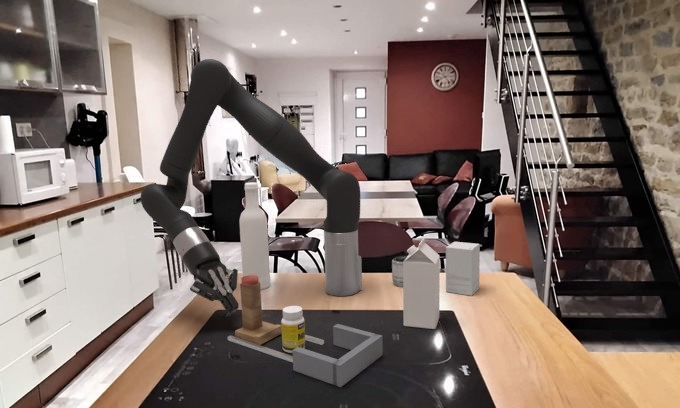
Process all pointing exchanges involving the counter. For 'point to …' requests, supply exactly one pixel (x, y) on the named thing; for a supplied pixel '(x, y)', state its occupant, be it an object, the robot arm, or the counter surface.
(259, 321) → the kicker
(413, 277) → the milk carton
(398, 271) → the camera lens
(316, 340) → the track
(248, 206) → the bottle
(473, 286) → the supplement box
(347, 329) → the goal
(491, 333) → the counter surface
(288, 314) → the supplement bottle
